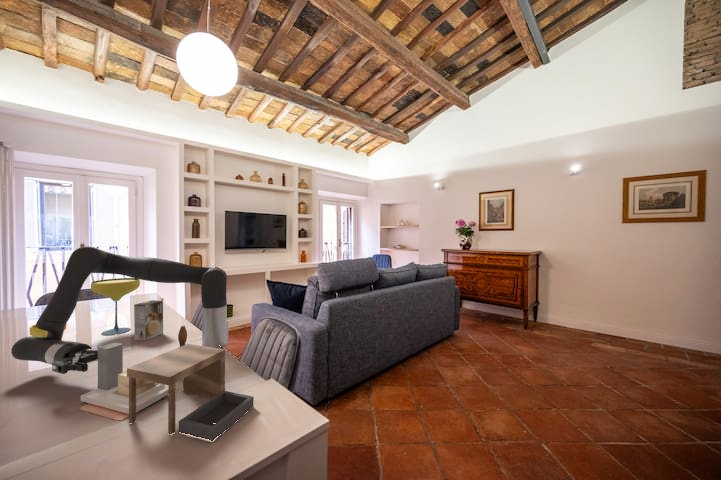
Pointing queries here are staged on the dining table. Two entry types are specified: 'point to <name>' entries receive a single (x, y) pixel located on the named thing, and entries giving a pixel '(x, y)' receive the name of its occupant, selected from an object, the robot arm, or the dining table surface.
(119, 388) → the birch block
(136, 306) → the coffee box
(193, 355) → the small wooden table
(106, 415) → the pad
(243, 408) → the pit trap
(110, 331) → the cocktail glass
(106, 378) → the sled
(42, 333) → the plant pot
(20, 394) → the dining table surface
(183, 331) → the hand bell
